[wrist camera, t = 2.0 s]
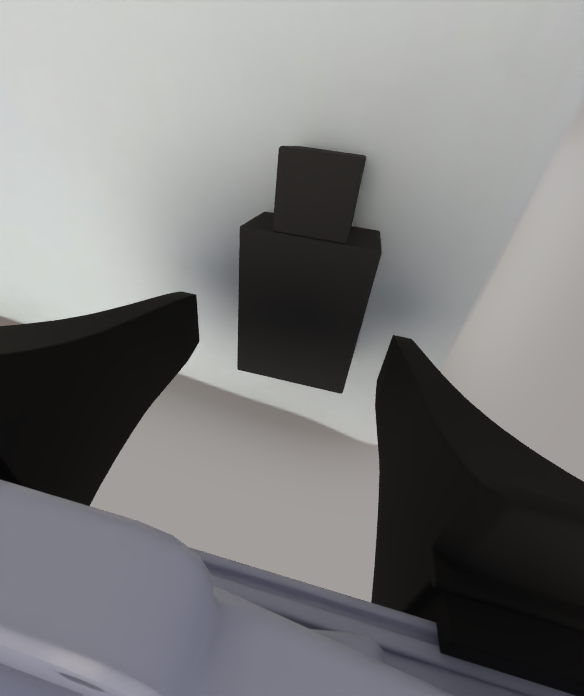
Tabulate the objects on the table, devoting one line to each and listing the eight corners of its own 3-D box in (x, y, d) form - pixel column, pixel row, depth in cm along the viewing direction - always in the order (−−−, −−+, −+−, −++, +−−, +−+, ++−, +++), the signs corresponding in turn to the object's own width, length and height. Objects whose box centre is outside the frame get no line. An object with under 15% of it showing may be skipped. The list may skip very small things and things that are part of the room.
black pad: (399, 160, 11) (406, 164, 9) (346, 357, 16) (342, 394, 14) (267, 141, 12) (240, 140, 9) (256, 337, 17) (236, 370, 14)
